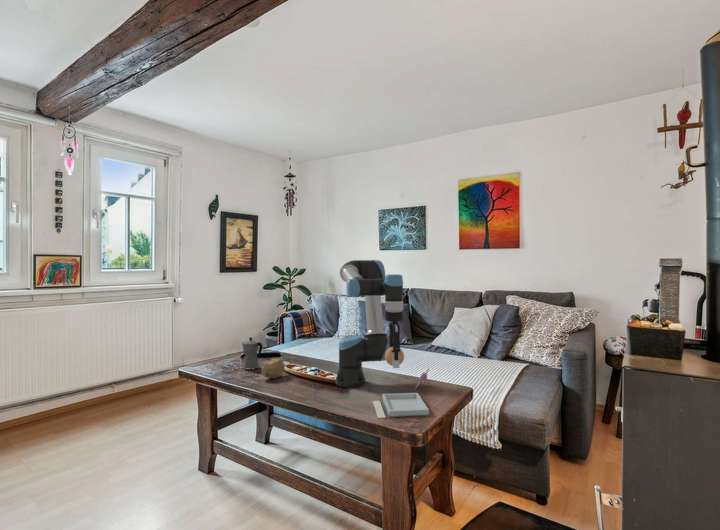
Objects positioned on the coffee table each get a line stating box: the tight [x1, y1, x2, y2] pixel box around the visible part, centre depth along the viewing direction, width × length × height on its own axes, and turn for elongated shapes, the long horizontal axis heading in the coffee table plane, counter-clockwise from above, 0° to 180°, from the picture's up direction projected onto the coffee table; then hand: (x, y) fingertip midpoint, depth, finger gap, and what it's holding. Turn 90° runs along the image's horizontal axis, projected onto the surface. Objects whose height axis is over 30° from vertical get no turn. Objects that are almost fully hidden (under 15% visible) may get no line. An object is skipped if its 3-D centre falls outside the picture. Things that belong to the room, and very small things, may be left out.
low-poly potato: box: [260, 357, 286, 379], centre depth 199 cm, size 15×11×12 cm
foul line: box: [372, 400, 387, 419], centre depth 154 cm, size 18×3×1 cm, turn 4°
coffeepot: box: [241, 336, 264, 369], centre depth 218 cm, size 15×9×18 cm, turn 62°
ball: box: [385, 347, 405, 367], centre depth 157 cm, size 8×8×8 cm
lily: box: [414, 368, 433, 391], centre depth 181 cm, size 12×12×10 cm
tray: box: [381, 392, 430, 418], centre depth 157 cm, size 20×16×2 cm
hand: (394, 365), depth 157 cm, fingers closed on ball, 8 cm apart
